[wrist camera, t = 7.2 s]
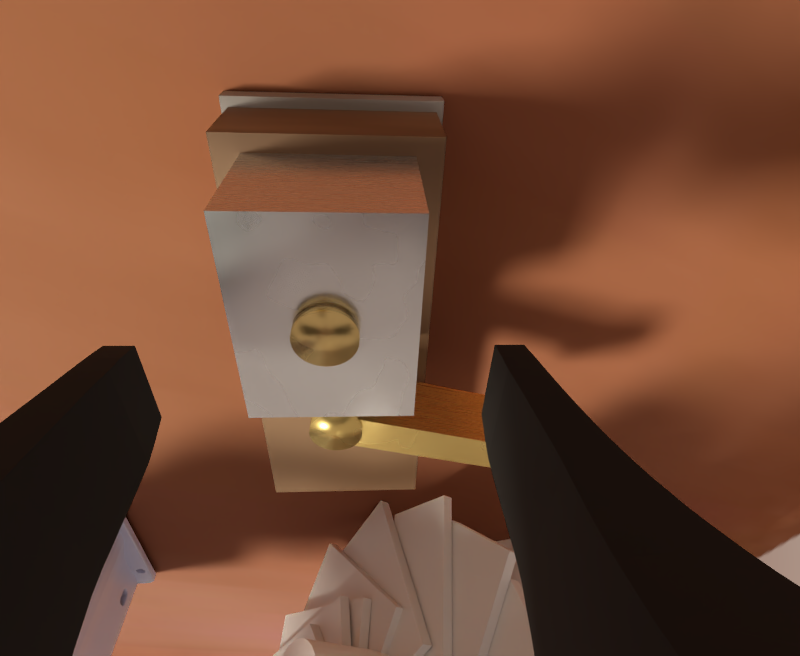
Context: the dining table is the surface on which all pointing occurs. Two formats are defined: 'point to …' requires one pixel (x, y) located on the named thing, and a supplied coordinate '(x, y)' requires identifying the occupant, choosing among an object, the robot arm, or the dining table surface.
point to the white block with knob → (322, 281)
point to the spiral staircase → (413, 592)
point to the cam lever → (415, 428)
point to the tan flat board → (338, 135)
